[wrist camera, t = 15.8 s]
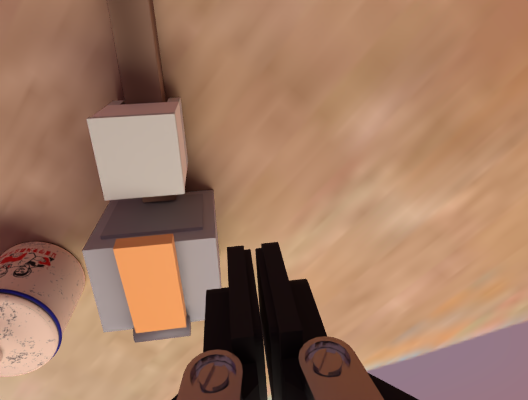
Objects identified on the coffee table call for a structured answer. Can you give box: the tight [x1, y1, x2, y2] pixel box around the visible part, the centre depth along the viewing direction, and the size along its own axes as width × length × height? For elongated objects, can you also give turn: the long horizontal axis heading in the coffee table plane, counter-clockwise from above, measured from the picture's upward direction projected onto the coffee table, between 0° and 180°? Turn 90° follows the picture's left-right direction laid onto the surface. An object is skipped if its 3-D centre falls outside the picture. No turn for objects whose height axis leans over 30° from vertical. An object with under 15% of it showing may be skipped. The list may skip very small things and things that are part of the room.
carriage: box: [87, 97, 188, 200], centre depth 31 cm, size 6×6×8 cm
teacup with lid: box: [0, 242, 85, 377], centre depth 35 cm, size 12×9×12 cm
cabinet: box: [82, 190, 221, 332], centre depth 35 cm, size 10×8×10 cm
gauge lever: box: [113, 234, 191, 342], centre depth 29 cm, size 4×10×2 cm, turn 2°
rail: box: [107, 0, 177, 203], centre depth 30 cm, size 5×30×4 cm, turn 2°
